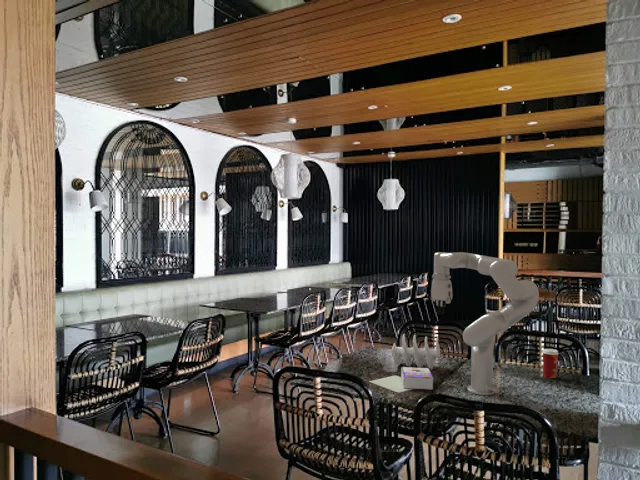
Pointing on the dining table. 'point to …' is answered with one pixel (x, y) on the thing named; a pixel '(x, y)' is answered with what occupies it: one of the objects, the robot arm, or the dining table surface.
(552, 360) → the paper cup
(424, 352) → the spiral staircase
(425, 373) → the candy box
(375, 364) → the dining table surface
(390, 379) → the mat
